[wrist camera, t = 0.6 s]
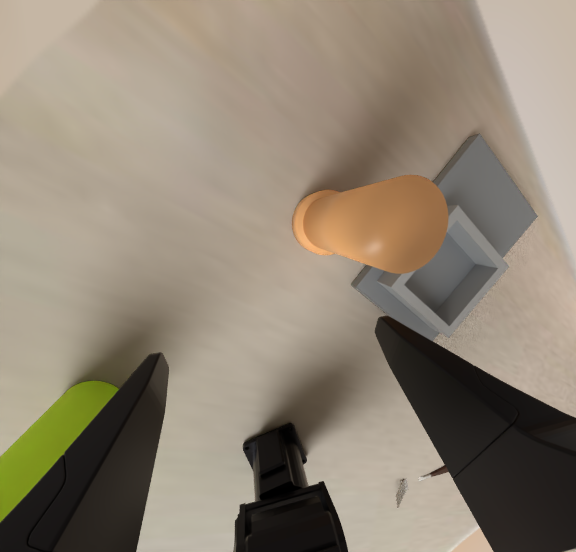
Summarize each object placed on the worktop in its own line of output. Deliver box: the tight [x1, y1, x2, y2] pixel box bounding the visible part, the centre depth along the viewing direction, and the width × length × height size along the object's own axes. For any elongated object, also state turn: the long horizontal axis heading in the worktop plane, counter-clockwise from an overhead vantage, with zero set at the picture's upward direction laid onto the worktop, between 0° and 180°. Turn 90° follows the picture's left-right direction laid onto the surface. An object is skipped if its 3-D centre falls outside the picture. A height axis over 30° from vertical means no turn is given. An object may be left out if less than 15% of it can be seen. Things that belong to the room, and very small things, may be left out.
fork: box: [396, 466, 449, 508], centre depth 36 cm, size 3×16×2 cm, turn 102°
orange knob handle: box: [292, 175, 448, 274], centre depth 18 cm, size 6×6×13 cm
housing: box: [351, 134, 538, 341], centre depth 26 cm, size 20×13×4 cm, turn 141°
